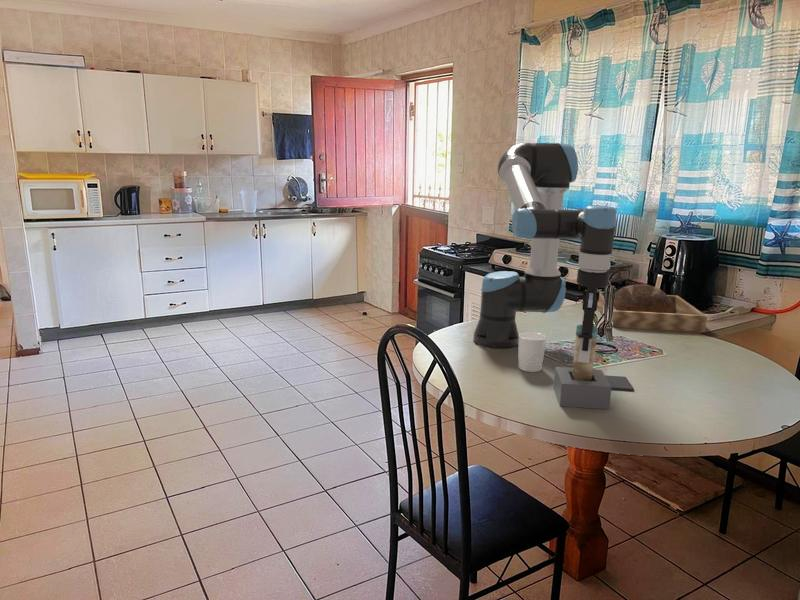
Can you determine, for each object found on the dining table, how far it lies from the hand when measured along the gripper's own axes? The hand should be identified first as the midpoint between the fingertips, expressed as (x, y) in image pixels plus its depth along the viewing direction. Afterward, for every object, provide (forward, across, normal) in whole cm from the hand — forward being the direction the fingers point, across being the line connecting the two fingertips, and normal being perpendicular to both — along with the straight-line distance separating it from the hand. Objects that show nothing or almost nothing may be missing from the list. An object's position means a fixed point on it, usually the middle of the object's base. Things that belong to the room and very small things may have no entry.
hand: (583, 358), depth 151 cm
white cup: (+11, +17, +15) cm, 25 cm away
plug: (+8, 0, 0) cm, 8 cm away
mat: (+11, +14, -8) cm, 20 cm away
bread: (+12, +93, -19) cm, 95 cm away
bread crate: (+12, +92, -21) cm, 95 cm away
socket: (+11, 0, 0) cm, 11 cm away
